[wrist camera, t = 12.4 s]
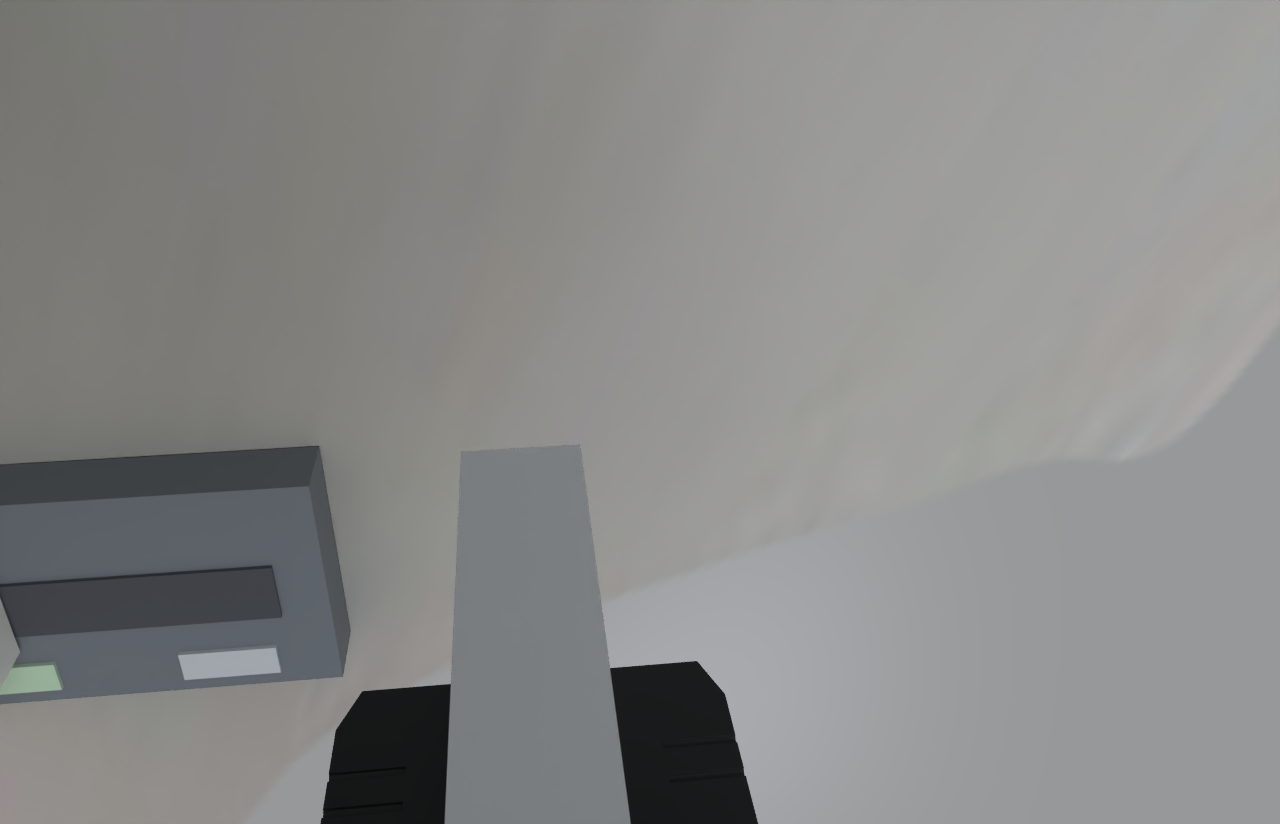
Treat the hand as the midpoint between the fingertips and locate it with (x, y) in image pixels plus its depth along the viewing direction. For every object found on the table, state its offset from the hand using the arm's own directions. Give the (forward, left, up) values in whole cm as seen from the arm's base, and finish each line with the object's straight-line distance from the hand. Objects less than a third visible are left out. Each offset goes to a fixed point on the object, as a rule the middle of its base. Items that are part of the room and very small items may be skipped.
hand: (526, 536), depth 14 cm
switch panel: (-5, -26, -28) cm, 39 cm away
